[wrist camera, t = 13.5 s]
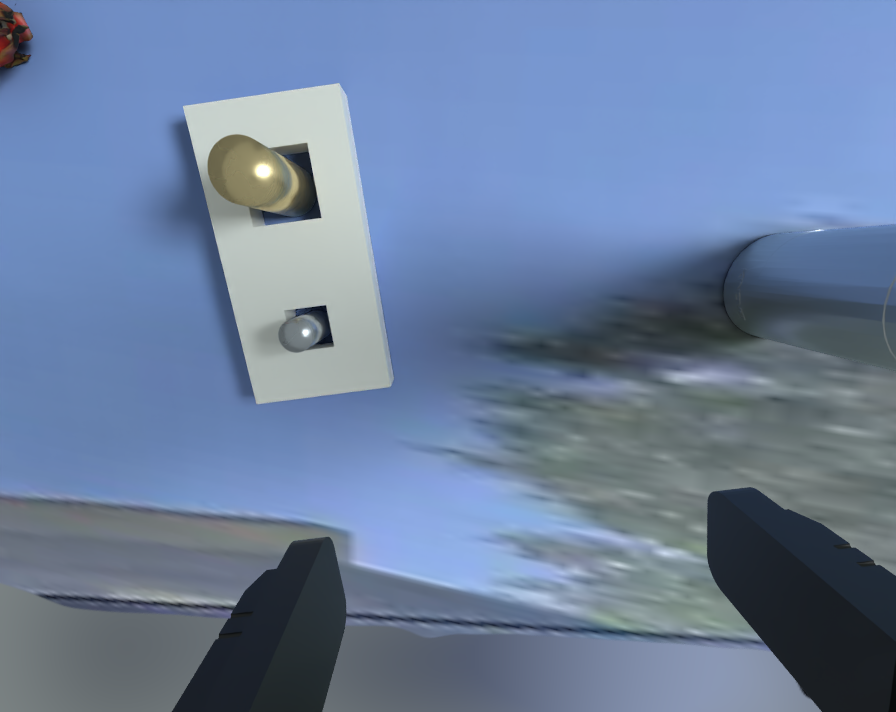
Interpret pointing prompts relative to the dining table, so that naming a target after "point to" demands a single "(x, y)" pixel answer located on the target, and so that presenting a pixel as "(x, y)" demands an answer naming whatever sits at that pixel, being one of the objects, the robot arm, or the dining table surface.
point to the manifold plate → (299, 248)
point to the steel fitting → (304, 331)
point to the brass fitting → (259, 177)
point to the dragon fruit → (12, 36)
